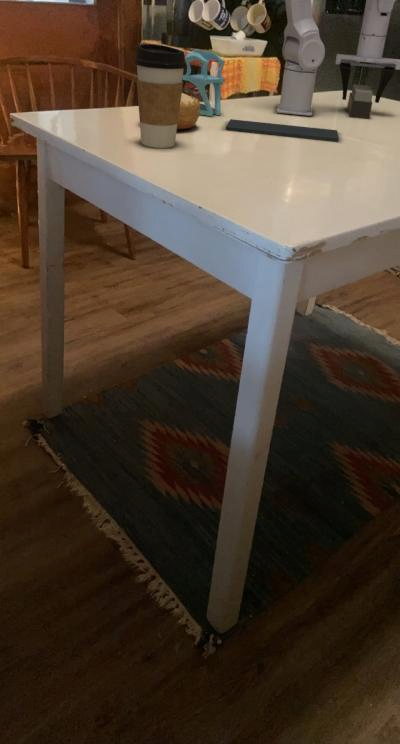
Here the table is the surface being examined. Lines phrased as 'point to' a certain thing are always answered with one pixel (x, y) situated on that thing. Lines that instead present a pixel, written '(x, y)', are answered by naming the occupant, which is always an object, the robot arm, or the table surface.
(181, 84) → the coffee cup
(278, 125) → the desk mat
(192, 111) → the pastry
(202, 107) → the chair
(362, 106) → the grey rectangular block
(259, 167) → the table surface
